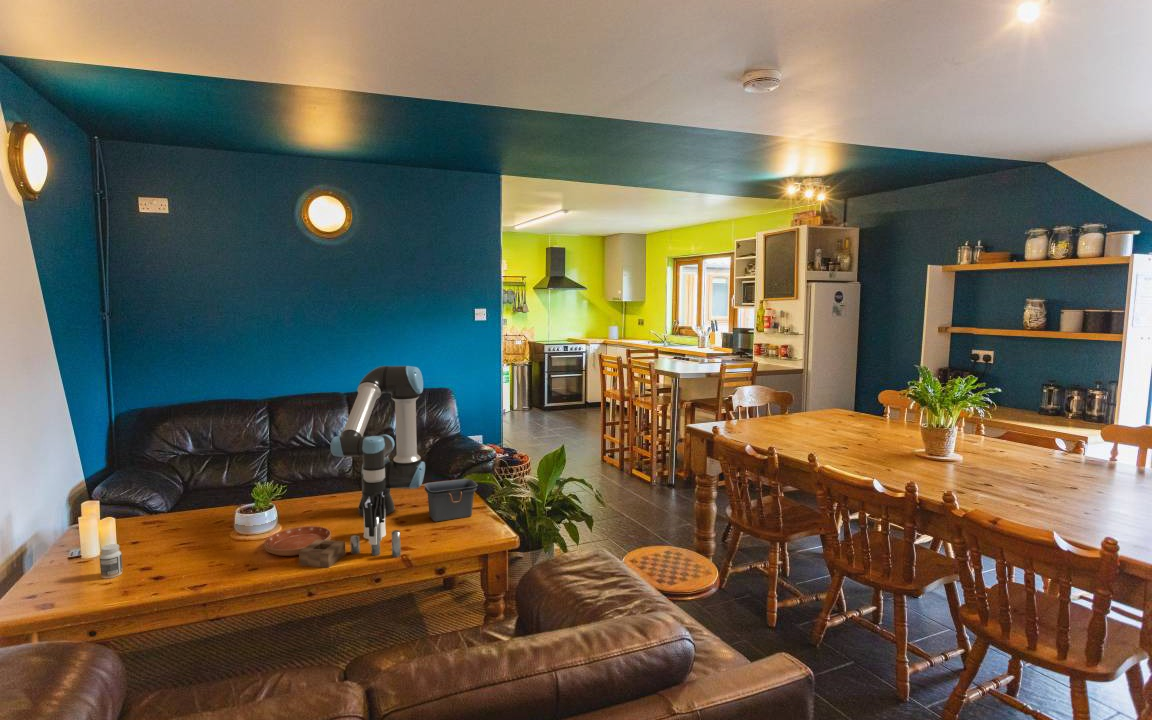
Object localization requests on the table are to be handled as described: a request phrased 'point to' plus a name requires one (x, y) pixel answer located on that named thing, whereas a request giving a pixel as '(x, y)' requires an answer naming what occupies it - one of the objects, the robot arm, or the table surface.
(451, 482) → the storage bin
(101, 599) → the table surface
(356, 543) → the short pin
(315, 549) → the socket block
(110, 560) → the pill bottle
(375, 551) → the long pin
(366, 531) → the mug
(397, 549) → the medium pin
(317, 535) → the saucer
